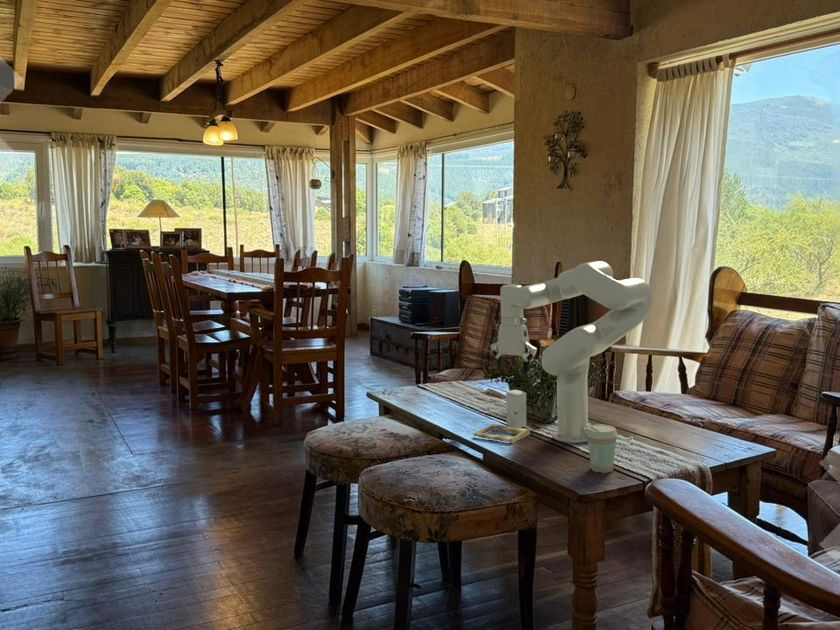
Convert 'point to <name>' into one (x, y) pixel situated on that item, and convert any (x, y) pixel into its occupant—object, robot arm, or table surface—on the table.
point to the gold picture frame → (513, 430)
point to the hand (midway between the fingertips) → (513, 371)
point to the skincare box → (516, 408)
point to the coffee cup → (601, 447)
